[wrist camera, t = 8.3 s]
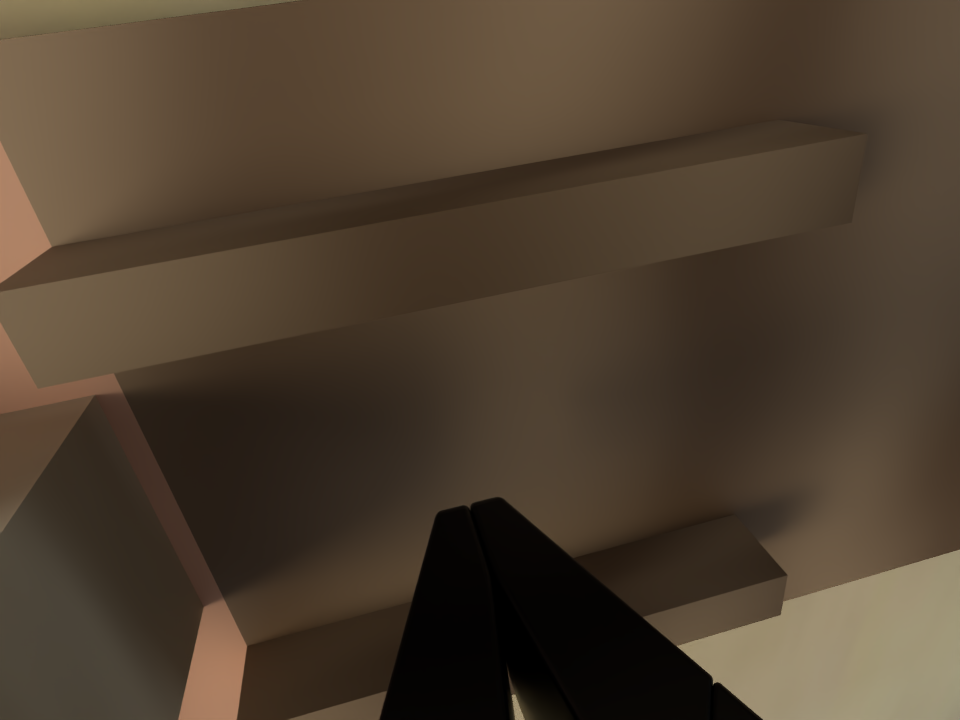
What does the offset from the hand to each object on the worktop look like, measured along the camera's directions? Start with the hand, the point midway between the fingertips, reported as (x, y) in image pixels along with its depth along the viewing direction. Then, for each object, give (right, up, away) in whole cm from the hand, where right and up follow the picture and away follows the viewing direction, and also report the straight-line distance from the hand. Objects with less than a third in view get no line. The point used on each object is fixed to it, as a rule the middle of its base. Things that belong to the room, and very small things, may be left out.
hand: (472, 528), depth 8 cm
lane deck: (-2, +1, +3) cm, 4 cm away
